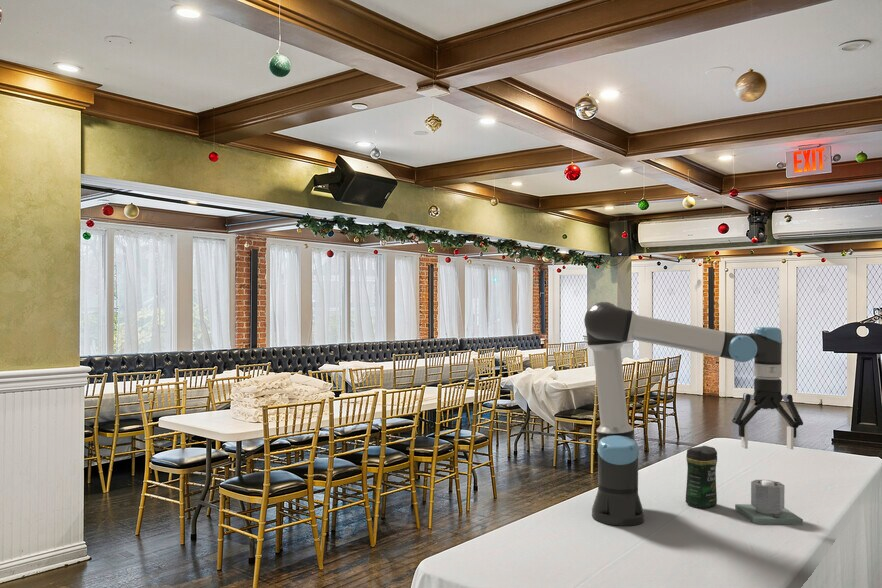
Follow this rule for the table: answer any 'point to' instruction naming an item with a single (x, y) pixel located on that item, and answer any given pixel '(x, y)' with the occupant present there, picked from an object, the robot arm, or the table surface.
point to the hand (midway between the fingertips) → (767, 448)
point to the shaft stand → (768, 513)
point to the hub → (767, 496)
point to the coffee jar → (701, 477)
